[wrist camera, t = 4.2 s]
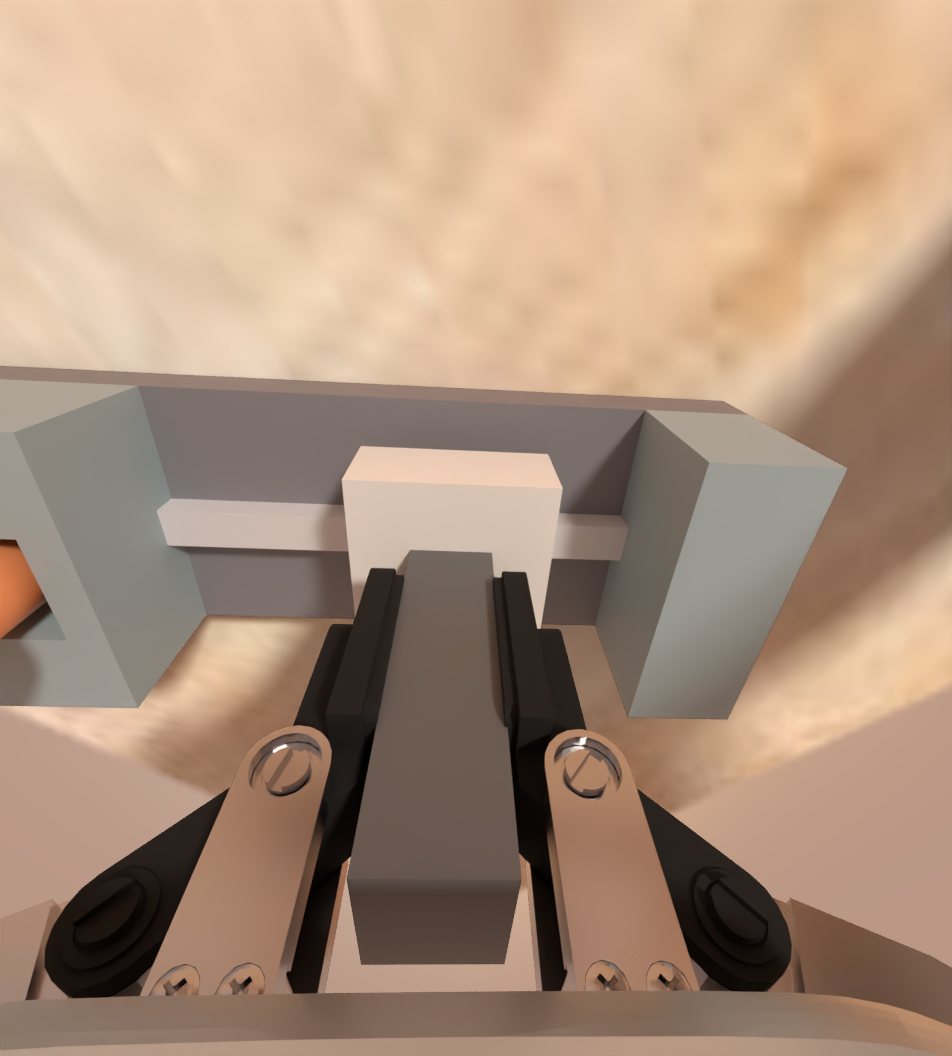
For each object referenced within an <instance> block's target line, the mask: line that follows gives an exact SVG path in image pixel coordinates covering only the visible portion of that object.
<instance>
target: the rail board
mask: <svg viewBox="0 0 952 1056" xmlns="http://www.w3.org/2000/svg"><path fill="white" fill-rule="evenodd" d="M361 446H372V447H395V448H418V449H442V450H465V451H488V452H511V453H534V454H548V455H549V458H550V460H551V462H552V465H553V467H554V469H555V472H556V474H557V476H558V478H559V481H560V483H561V485H562V488H563V490H562V497H561V503H560V509H559V516H558V522H557V528H556V535H555V541H554V547H553V553H552V560H551V566H550V572H549V579H548V585H547V591H546V598H545V604H544V610H543V616H542V623H541V624H560V625H595V627H596V629H597V632H598V635H599V638H600V641H601V643H602V646H603V649H604V652H605V655H606V657H607V660H608V663H609V666H610V669H611V672H612V674H613V677H614V680H615V683H616V686H617V688H618V691H619V694H620V697H621V700H622V702H623V705H624V708H625V711H626V714H627V716H628V718H678V719H728V717H729V715H730V713H731V711H732V709H733V707H734V705H735V703H736V700H737V698H738V696H739V694H740V692H741V690H742V688H743V686H744V684H745V682H746V680H747V678H748V675H749V673H750V671H751V669H752V667H753V665H754V663H755V661H756V659H757V657H758V655H759V652H760V650H761V648H762V646H763V644H764V642H765V640H766V638H767V636H768V634H769V632H770V630H771V627H772V625H773V623H774V621H775V619H776V617H777V615H778V613H779V611H780V609H781V607H782V604H783V602H784V600H785V598H786V596H787V594H788V592H789V590H790V588H791V586H792V584H793V582H794V579H795V577H796V575H797V573H798V571H799V569H800V567H801V565H802V563H803V561H804V559H805V556H806V554H807V552H808V550H809V548H810V546H811V544H812V542H813V540H814V538H815V536H816V534H817V531H818V529H819V527H820V525H821V523H822V521H823V519H824V517H825V515H826V513H827V511H828V508H829V506H830V504H831V502H832V500H833V498H834V496H835V494H836V492H837V490H838V488H839V486H840V483H841V481H842V479H843V477H844V475H845V473H846V471H847V469H848V468H846V467H844V466H842V465H840V464H838V463H837V462H835V461H833V460H831V459H829V458H827V457H826V456H824V455H822V454H820V453H818V452H816V451H814V450H813V449H811V448H809V447H807V446H805V445H803V444H801V443H800V442H798V441H796V440H794V439H792V438H790V437H788V436H787V435H785V434H783V433H781V432H779V431H777V430H776V429H774V428H772V427H770V426H768V425H766V424H764V423H763V422H761V421H759V420H757V419H755V418H753V417H751V416H750V415H748V414H746V413H744V412H742V411H740V410H738V409H737V408H735V407H733V406H731V405H729V404H727V403H726V402H724V401H708V400H687V399H667V398H646V397H625V396H605V395H584V394H564V393H543V392H523V391H502V390H482V389H461V388H441V387H420V386H400V385H379V384H359V383H338V382H318V381H297V380H277V379H256V378H236V377H215V376H195V375H174V374H154V373H133V372H113V371H92V370H72V369H51V368H31V367H10V366H0V539H12V540H16V541H17V543H18V545H19V547H20V549H21V551H22V553H23V555H24V557H25V559H26V561H27V563H28V565H29V567H30V569H31V570H32V572H33V574H34V576H35V578H36V580H37V582H38V584H39V586H40V588H41V590H42V592H43V594H44V596H45V598H46V600H47V602H45V603H44V604H43V605H42V606H40V607H39V608H38V609H37V610H35V611H34V612H33V613H32V614H30V615H29V616H28V617H27V618H26V619H24V620H23V621H22V622H21V623H19V624H18V625H17V626H16V627H14V628H13V629H12V630H11V631H9V632H8V633H7V634H6V635H5V636H3V637H2V638H1V639H0V706H50V707H103V708H138V707H139V706H140V705H141V703H142V702H143V701H144V699H145V698H146V696H147V695H148V694H149V692H150V691H151V690H152V688H153V687H154V686H155V684H156V683H157V682H158V680H159V679H160V677H161V676H162V675H163V673H164V672H165V671H166V669H167V668H168V667H169V665H170V664H171V662H172V661H173V660H174V658H175V657H176V656H177V654H178V653H179V652H180V650H181V649H182V648H183V646H184V645H185V643H186V642H187V641H188V639H189V638H190V637H191V635H192V634H193V633H194V631H195V630H196V628H197V627H198V626H199V624H200V623H201V622H202V620H203V619H204V618H205V616H206V615H233V616H270V617H306V618H342V619H355V611H354V601H353V591H352V580H351V570H350V560H349V550H348V540H347V529H346V519H345V509H344V499H343V489H342V478H343V476H344V475H345V473H346V471H347V469H348V468H349V466H350V464H351V462H352V461H353V459H354V457H355V455H356V454H357V452H358V450H359V448H360V447H361Z"/></svg>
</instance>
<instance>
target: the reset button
mask: <svg viewBox="0 0 952 1056" xmlns="http://www.w3.org/2000/svg"><path fill="white" fill-rule="evenodd" d="M45 602H47V600H46V598H45V596H44V594H43V592H42V590H41V588H40V586H39V584H38V582H37V580H36V578H35V576H34V574H33V572H32V570H31V569H30V567H29V565H28V563H27V561H26V559H25V557H24V555H23V553H22V551H21V549H20V547H19V545H18V543H17V541H16V540H12V539H0V639H1V638H2V637H3V636H5V635H6V634H7V633H8V632H9V631H11V630H12V629H13V628H14V627H16V626H17V625H18V624H19V623H21V622H22V621H23V620H24V619H26V618H27V617H28V616H29V615H30V614H32V613H33V612H34V611H35V610H37V609H38V608H39V607H40V606H42V605H43V604H44V603H45Z"/></svg>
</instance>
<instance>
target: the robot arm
mask: <svg viewBox="0 0 952 1056" xmlns="http://www.w3.org/2000/svg"><path fill="white" fill-rule="evenodd" d="M404 580H405V578H404V575H396V570H395V568H371V569H370V571H369V574H368V577H367V581H366V584H365V587H364V590H363V593H362V597H361V600H360V603H359V606H358V610H357V613H356V616H355V619H354V623H353V625H350V624H333V625H332V626H331V627H330V629H329V631H328V633H327V636H326V638H325V641H324V644H323V647H322V649H321V652H320V655H319V657H318V660H317V663H316V665H315V668H314V671H313V674H312V676H311V679H310V682H309V684H308V687H307V690H306V692H305V695H304V698H303V700H302V703H301V706H300V709H299V711H298V714H297V717H296V719H295V722H294V725H293V726H290V727H284V728H281V729H279V730H276V731H273V732H271V733H270V734H268V735H266V736H265V737H263V738H262V739H260V740H259V741H258V742H257V743H256V744H255V745H254V746H253V747H252V748H251V749H250V750H249V751H248V752H247V754H246V755H245V757H244V759H243V760H242V762H241V764H240V766H239V768H238V771H237V773H236V775H235V778H234V780H233V782H232V784H231V787H230V788H228V789H227V790H225V791H224V792H222V793H221V794H219V795H218V796H216V797H215V798H213V799H212V800H210V801H209V802H207V803H206V804H204V805H203V806H201V807H200V808H198V809H197V810H196V811H194V812H192V813H191V814H189V815H188V816H186V817H185V818H183V819H182V820H180V821H179V822H177V823H176V824H174V825H173V826H172V827H170V828H168V829H167V830H165V831H164V832H162V833H161V834H159V835H158V836H156V837H155V838H153V839H152V840H150V841H149V842H147V843H146V844H144V845H143V846H141V847H140V848H138V849H137V850H135V851H134V852H132V853H131V854H129V855H128V856H126V857H125V858H123V859H122V860H120V861H119V862H117V863H116V864H114V865H113V866H111V867H110V868H108V869H107V870H105V871H104V872H102V873H101V874H99V875H98V876H97V877H96V878H94V879H93V880H92V881H90V882H89V883H88V884H87V885H85V886H84V887H83V888H82V889H81V890H80V891H79V892H78V893H77V894H76V895H75V896H74V898H73V899H71V900H68V901H66V902H63V903H61V904H58V905H57V904H56V902H55V901H54V900H53V899H52V900H49V901H47V902H44V903H41V904H38V905H36V906H33V907H30V908H28V909H25V910H23V911H20V912H17V913H14V914H12V915H9V916H7V917H4V918H1V919H0V1056H952V968H951V967H949V966H948V965H946V964H944V963H942V962H941V961H939V960H937V959H935V958H934V957H932V956H930V955H927V954H925V953H922V952H920V951H917V950H915V949H913V948H910V947H908V946H905V945H903V944H900V943H898V942H896V941H893V940H891V939H888V938H886V937H883V936H881V935H879V934H876V933H874V932H871V931H869V930H867V929H864V928H862V927H859V926H857V925H854V924H852V923H850V922H847V921H845V920H842V919H840V918H837V917H835V916H832V915H830V914H828V913H825V912H823V911H821V910H818V909H815V908H813V907H811V906H808V905H806V904H804V903H801V902H799V901H796V900H794V899H791V898H790V899H789V900H788V902H787V903H784V902H782V901H779V900H777V899H774V898H772V897H771V895H770V894H769V893H768V891H767V890H766V889H765V888H764V887H763V886H762V885H761V884H760V883H759V882H758V881H757V880H756V879H754V878H753V877H752V876H751V875H750V874H749V873H748V872H746V871H745V870H744V869H742V868H741V867H740V866H738V865H737V864H735V863H734V862H733V861H732V860H730V859H729V858H728V857H726V856H725V855H724V854H722V853H721V852H720V851H719V850H717V849H716V848H715V847H713V846H712V845H711V844H709V843H708V842H707V841H705V840H704V839H703V838H701V837H700V836H699V835H697V834H696V833H695V832H694V831H692V830H691V829H690V828H688V827H687V826H686V825H684V824H683V823H682V822H680V821H679V820H678V819H676V818H675V817H674V816H672V815H671V814H670V813H669V812H667V811H666V810H665V809H663V808H662V807H661V806H659V805H658V804H657V803H655V802H654V801H653V800H651V799H650V798H649V797H647V796H646V795H645V794H643V793H642V792H641V791H640V790H638V789H637V788H636V785H635V781H634V778H633V775H632V772H631V769H630V766H629V764H628V762H627V760H626V758H625V756H624V754H623V753H622V752H621V751H620V750H619V748H618V747H617V746H616V745H615V744H614V743H612V742H611V741H610V740H608V739H607V738H606V737H604V736H602V735H600V734H597V733H595V732H593V731H588V730H586V726H585V722H584V718H583V714H582V710H581V707H580V703H579V699H578V695H577V691H576V687H575V683H574V679H573V676H572V672H571V668H570V664H569V660H568V656H567V652H566V648H565V645H564V641H563V637H562V634H561V631H560V630H559V629H537V625H536V619H535V614H534V609H533V604H532V599H531V594H530V589H529V584H528V578H527V574H526V572H509V571H503V572H502V575H501V577H493V593H494V605H495V617H496V629H497V641H498V653H499V665H500V677H501V689H502V701H503V713H504V725H505V727H508V737H509V749H510V760H511V771H512V782H513V793H514V804H515V815H516V826H517V838H518V849H519V853H520V854H521V855H522V856H523V858H524V859H525V860H526V864H525V865H526V877H527V888H528V899H529V910H530V922H531V932H532V944H533V955H534V966H535V978H536V990H537V991H520V992H519V991H518V992H517V991H516V992H515V991H514V992H513V991H510V992H405V993H404V992H403V993H325V989H326V983H327V978H328V972H329V967H330V961H331V956H332V950H333V945H334V939H335V934H336V929H337V923H338V918H339V912H340V906H341V901H342V896H343V890H344V884H345V879H346V874H347V868H348V859H349V858H350V857H351V854H352V849H353V844H354V839H355V834H356V829H357V823H358V818H359V813H360V808H361V803H362V797H363V792H364V787H365V782H366V777H367V772H368V766H369V761H370V756H371V751H372V746H373V741H374V735H375V730H376V725H377V722H378V717H379V711H380V706H381V701H382V696H383V690H384V685H385V680H386V674H387V669H388V664H389V659H390V653H391V648H392V643H393V638H394V632H395V627H396V622H397V617H398V611H399V606H400V601H401V596H402V590H403V585H404Z"/></svg>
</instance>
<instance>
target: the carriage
mask: <svg viewBox="0 0 952 1056" xmlns="http://www.w3.org/2000/svg"><path fill="white" fill-rule="evenodd" d="M342 489H343V499H344V509H345V519H346V529H347V540H348V550H349V560H350V570H351V580H352V591H353V601H354V611H355V616H356V613H357V610H358V606H359V603H360V600H361V597H362V593H363V590H364V587H365V584H366V581H367V577H368V574H369V571H370V569H371V568H395V570H396V575H404V578H405V580H404V585H403V590H402V596H401V601H400V606H399V611H398V617H397V622H396V627H395V632H394V638H393V643H392V648H391V653H390V659H389V664H388V669H387V674H386V680H385V685H384V690H383V696H382V701H381V706H380V711H379V717H378V722H377V725H376V730H375V735H374V741H373V746H372V751H371V756H370V761H369V766H368V772H367V777H366V782H365V787H364V792H363V797H362V803H361V808H360V813H359V818H358V823H357V829H356V834H355V839H354V844H353V849H352V854H351V860H350V865H349V870H348V875H347V883H348V889H349V895H350V901H351V907H352V913H353V919H354V925H355V930H356V936H357V942H358V948H359V954H360V960H361V965H369V964H370V965H371V964H372V965H376V964H377V965H380V964H382V965H383V964H384V965H385V964H386V965H388V964H504V963H505V958H506V953H507V948H508V943H509V938H510V933H511V928H512V923H513V918H514V913H515V909H516V904H517V898H518V894H519V889H520V884H521V871H520V860H519V849H518V838H517V826H516V815H515V804H514V793H513V782H512V771H511V760H510V749H509V737H508V727H505V725H504V713H503V701H502V689H501V677H500V665H499V653H498V641H497V629H496V617H495V605H494V593H493V577H501V575H502V572H503V571H509V572H526V574H527V578H528V584H529V589H530V594H531V599H532V604H533V609H534V614H535V619H536V625H537V629H541V623H542V616H543V610H544V604H545V598H546V591H547V585H548V579H549V572H550V566H551V560H552V553H553V547H554V541H555V535H556V528H557V522H558V516H559V509H560V503H561V497H562V490H563V488H562V485H561V483H560V481H559V478H558V476H557V474H556V472H555V469H554V467H553V465H552V462H551V460H550V458H549V455H548V454H534V453H511V452H488V451H465V450H442V449H418V448H395V447H372V446H361V447H360V448H359V450H358V452H357V454H356V455H355V457H354V459H353V461H352V462H351V464H350V466H349V468H348V469H347V471H346V473H345V475H344V476H343V478H342Z"/></svg>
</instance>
